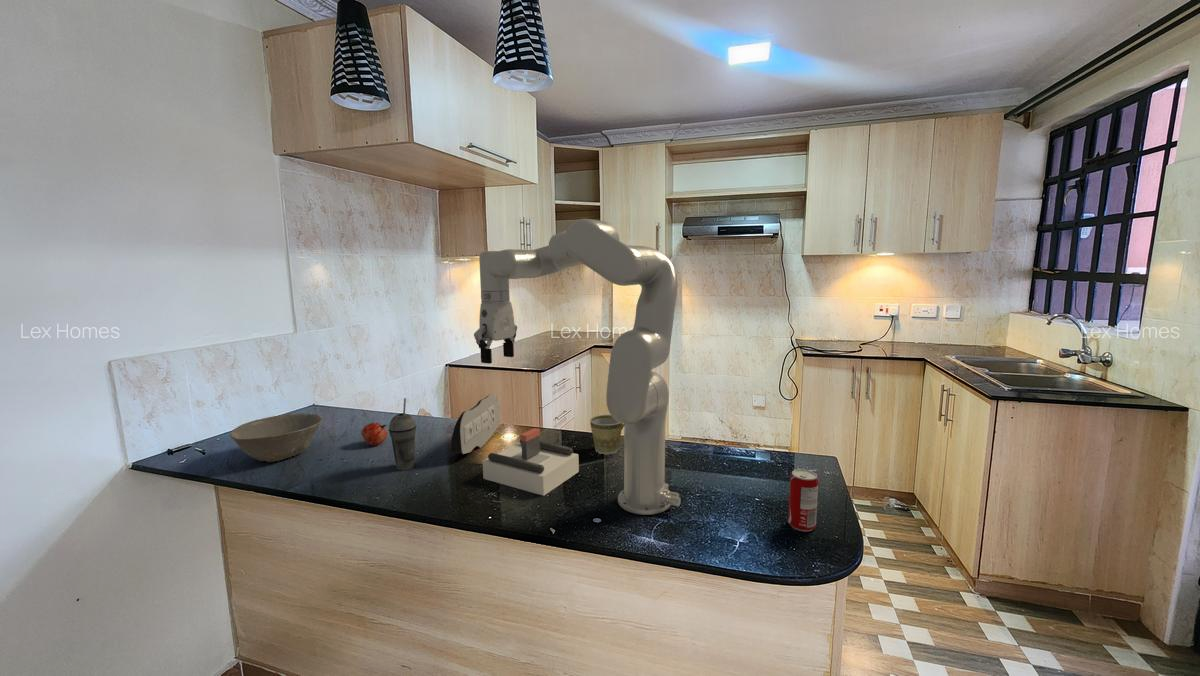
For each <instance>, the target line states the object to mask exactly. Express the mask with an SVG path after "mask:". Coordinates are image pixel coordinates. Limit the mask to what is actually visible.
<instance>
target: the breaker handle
mask: <svg viewBox="0 0 1200 676" xmlns="http://www.w3.org/2000/svg"><path fill="white" fill-rule="evenodd" d="M519 436H520V438H519V442H520V441H521V442H522V459H526V460H527V459H529V458H531V457H532V456H534V455H536V454H538V453H540V442H539V441H540V436H541V429H540V428H535V427H534V428H531V429H529V430H527V431H524V432H523V433H521V434H520V435H519Z"/></svg>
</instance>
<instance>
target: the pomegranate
mask: <svg viewBox="0 0 1200 676" xmlns="http://www.w3.org/2000/svg"><path fill="white" fill-rule="evenodd" d="M385 427H389V426H388V425H387V424H381V423H378V422H377V423H376V422H370V423H368V424H366V425H364V427H363V428H362V430H361V432H360V434H361V436H362V437H363V440H364V441H363V443H364V444H365V443H368V444H369V445H370V446H373V445H374V446H379V445H380V444H381V443H383V442H384V441H385V440H386V439H387V437H388V431H387V428H385Z"/></svg>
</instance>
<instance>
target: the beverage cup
mask: <svg viewBox="0 0 1200 676" xmlns="http://www.w3.org/2000/svg"><path fill="white" fill-rule="evenodd" d="M406 406H407V398H406V397H404V398H403V409H402V411H403V412H402V413H397V414H396V415H394V416H393V417H392V418H391V420H390V422H389V426H388V433H389V436H390V438H391V444H392V448H393V449H392V451H393V455H394V461H395V465H396V469H397V470H399V471H407V470H411V469H412V468H414V466H415V449H416V447H415V443H416V442H415V440H416V438H415V437H416V431H417V424H416V420H415V418H414V417H412V416H411V415H410V414H409V413H406Z"/></svg>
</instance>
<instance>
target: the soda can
mask: <svg viewBox="0 0 1200 676" xmlns="http://www.w3.org/2000/svg"><path fill="white" fill-rule="evenodd" d="M788 493H789V496H788V499H789V500H788V513H787V515H788V516H787V517H788V518H787V522H788V524H789V525H790V527H792V529H794V530H797V531H799V532H800V531H801V532H805V533H806V532H812V531H813V530H815V528H816V526H817V513H818V512H817V511H818V497H819V479H818V474H816V472H814V471H812V470H809V469H805V468H804V469H802V468H801V469H800V468H799V469H794V470H792V471H791V475H790V480H789V492H788Z"/></svg>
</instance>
